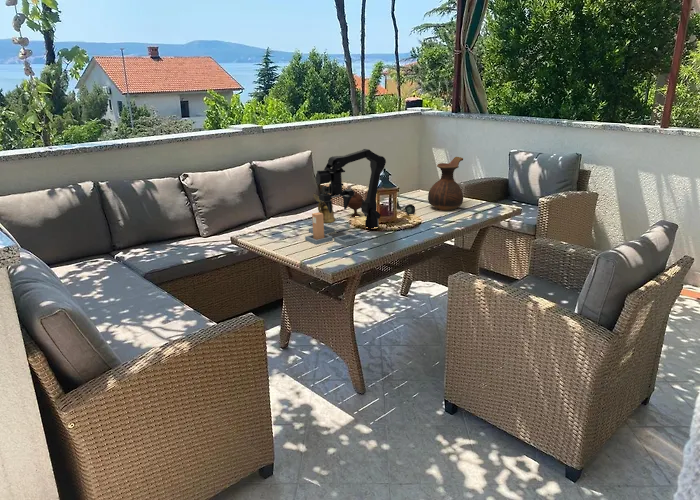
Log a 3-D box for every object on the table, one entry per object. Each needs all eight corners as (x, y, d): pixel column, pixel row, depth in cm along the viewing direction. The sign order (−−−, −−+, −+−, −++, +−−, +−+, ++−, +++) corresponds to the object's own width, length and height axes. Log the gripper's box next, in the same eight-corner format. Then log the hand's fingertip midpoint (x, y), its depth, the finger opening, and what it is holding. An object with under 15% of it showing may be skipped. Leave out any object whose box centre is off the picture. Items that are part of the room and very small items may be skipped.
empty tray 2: (350, 238, 285) (349, 233, 285) (362, 242, 278) (362, 237, 277) (334, 242, 280) (334, 237, 279) (346, 246, 272) (345, 242, 271)
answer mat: (340, 233, 295) (340, 232, 295) (350, 236, 288) (350, 235, 288) (326, 236, 290) (326, 235, 290) (336, 240, 283) (336, 239, 283)
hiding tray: (321, 237, 289) (321, 232, 288) (332, 241, 281) (332, 236, 281) (305, 241, 283) (305, 236, 283) (316, 245, 276) (316, 240, 275)
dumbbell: (404, 218, 325) (398, 202, 323) (389, 214, 346) (384, 199, 344) (417, 212, 327) (412, 197, 325) (401, 209, 348) (396, 194, 346)
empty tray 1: (324, 229, 303) (323, 224, 303) (334, 233, 296) (334, 228, 295) (308, 232, 298) (308, 228, 297) (319, 236, 290) (318, 232, 289)
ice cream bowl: (352, 219, 321) (351, 194, 317) (343, 215, 331) (342, 190, 326) (368, 216, 326) (367, 191, 321) (359, 213, 336) (358, 188, 331)
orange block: (320, 238, 285) (318, 212, 281) (324, 240, 282) (323, 213, 277) (313, 240, 282) (311, 213, 278) (317, 242, 279) (316, 215, 275)
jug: (466, 212, 330) (468, 161, 320) (430, 213, 330) (431, 162, 321) (460, 203, 350) (461, 155, 341) (426, 204, 351) (426, 156, 341)
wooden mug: (310, 223, 317) (308, 192, 311) (327, 218, 326) (326, 188, 320) (320, 225, 311) (319, 194, 305) (338, 221, 319) (337, 190, 314)
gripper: (342, 176, 296) (343, 205, 300) (312, 182, 286) (314, 211, 290) (354, 179, 287) (355, 209, 292) (324, 185, 277) (326, 215, 282)
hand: (337, 211), depth 289 cm, fingers open, 9 cm apart
